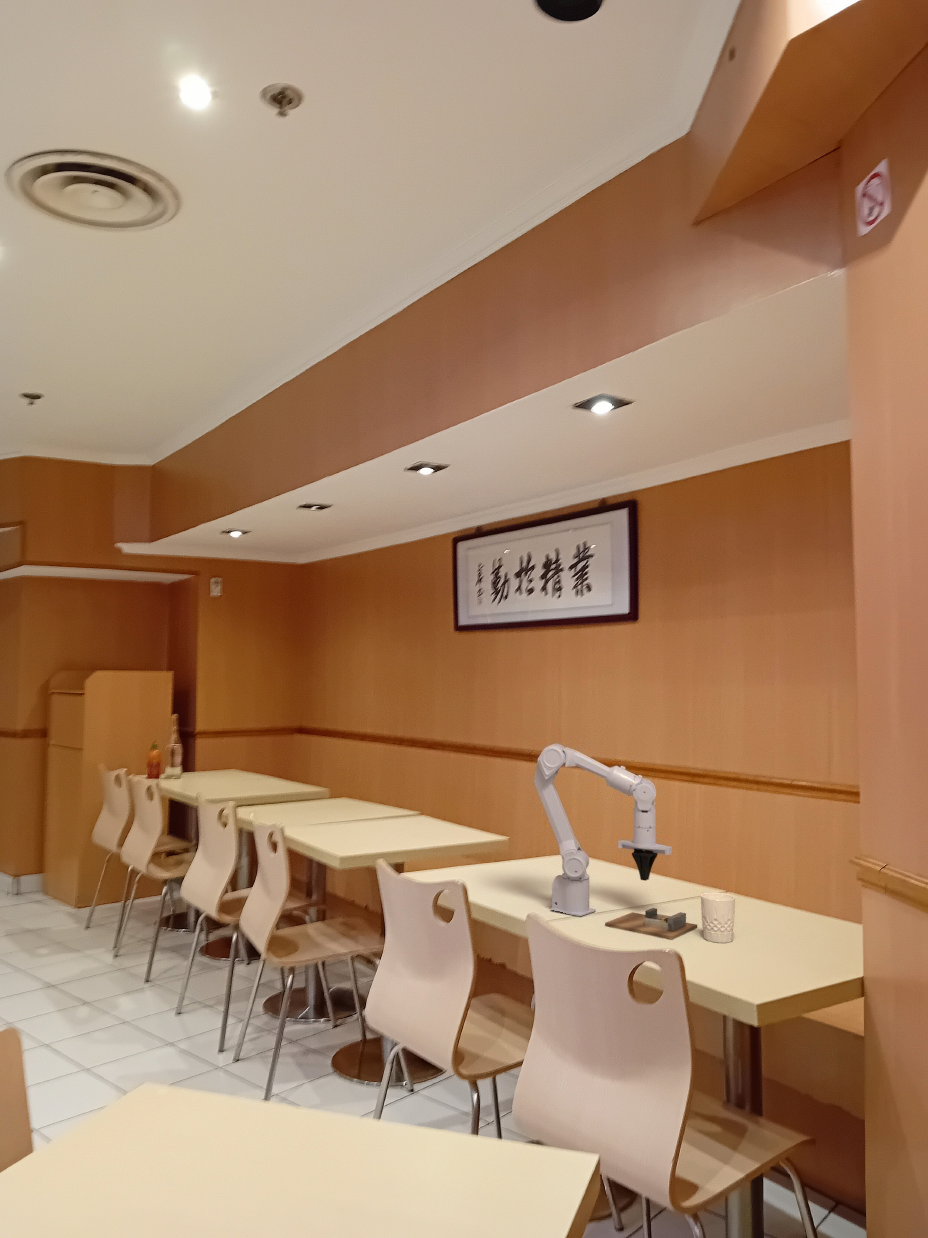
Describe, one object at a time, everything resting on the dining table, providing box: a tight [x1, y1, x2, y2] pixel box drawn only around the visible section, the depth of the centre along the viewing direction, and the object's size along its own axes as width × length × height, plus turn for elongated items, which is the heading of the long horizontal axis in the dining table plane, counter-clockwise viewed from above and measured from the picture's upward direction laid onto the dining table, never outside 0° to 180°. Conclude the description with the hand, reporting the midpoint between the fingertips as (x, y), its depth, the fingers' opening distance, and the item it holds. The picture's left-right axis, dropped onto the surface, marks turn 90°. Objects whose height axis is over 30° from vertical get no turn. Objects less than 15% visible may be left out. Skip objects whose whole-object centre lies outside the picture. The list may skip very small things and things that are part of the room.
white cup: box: [700, 892, 736, 944], centre depth 214 cm, size 8×8×10 cm
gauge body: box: [645, 911, 687, 932], centre depth 222 cm, size 8×7×3 cm
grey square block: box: [644, 907, 668, 921], centre depth 222 cm, size 6×6×3 cm
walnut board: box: [604, 911, 698, 941], centre depth 224 cm, size 18×14×1 cm
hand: (644, 879), depth 235 cm, fingers closed
